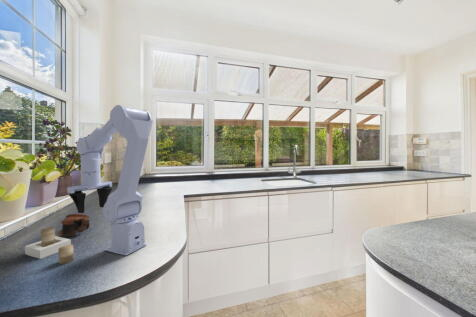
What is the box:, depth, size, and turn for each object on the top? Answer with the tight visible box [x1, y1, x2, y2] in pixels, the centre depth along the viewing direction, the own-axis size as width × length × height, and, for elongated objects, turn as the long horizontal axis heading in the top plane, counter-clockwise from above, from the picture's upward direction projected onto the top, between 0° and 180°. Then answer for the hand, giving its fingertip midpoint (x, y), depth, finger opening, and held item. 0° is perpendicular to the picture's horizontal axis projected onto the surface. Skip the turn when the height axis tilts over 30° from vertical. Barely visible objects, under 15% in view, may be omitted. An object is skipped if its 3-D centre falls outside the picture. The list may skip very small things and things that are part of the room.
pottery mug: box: [58, 213, 90, 238], centre depth 81 cm, size 12×10×8 cm
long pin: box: [40, 226, 56, 247], centre depth 66 cm, size 3×3×7 cm
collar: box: [24, 235, 72, 260], centre depth 66 cm, size 8×8×2 cm
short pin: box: [58, 244, 75, 265], centre depth 59 cm, size 3×3×4 cm
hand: (92, 209), depth 76 cm, fingers open, 7 cm apart
